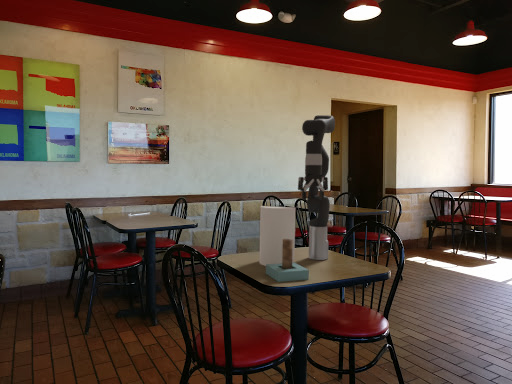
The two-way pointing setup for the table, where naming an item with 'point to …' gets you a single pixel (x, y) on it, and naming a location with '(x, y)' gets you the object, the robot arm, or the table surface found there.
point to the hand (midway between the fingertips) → (312, 199)
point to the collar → (287, 272)
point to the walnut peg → (287, 254)
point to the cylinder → (275, 232)
